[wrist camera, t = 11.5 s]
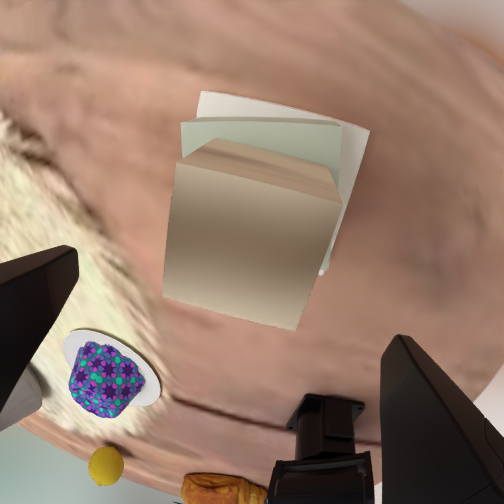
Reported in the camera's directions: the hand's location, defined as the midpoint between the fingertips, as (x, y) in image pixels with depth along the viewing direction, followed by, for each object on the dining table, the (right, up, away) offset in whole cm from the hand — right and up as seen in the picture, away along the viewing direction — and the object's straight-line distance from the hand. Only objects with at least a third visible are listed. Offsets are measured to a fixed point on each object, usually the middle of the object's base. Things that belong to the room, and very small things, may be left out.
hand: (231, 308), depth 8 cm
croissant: (-4, -38, +36) cm, 52 cm away
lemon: (-22, -30, +34) cm, 50 cm away
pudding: (-15, -11, +23) cm, 30 cm away
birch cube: (+1, +4, +7) cm, 8 cm away
